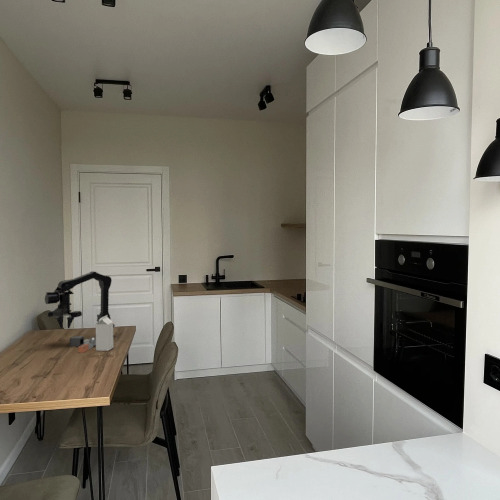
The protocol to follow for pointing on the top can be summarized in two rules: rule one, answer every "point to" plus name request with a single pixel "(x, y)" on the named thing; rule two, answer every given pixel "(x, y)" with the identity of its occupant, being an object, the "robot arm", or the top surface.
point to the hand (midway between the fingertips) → (65, 328)
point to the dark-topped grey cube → (77, 341)
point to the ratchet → (87, 344)
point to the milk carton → (104, 334)
